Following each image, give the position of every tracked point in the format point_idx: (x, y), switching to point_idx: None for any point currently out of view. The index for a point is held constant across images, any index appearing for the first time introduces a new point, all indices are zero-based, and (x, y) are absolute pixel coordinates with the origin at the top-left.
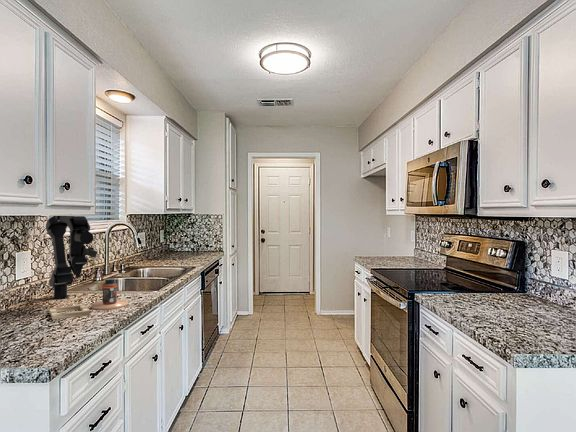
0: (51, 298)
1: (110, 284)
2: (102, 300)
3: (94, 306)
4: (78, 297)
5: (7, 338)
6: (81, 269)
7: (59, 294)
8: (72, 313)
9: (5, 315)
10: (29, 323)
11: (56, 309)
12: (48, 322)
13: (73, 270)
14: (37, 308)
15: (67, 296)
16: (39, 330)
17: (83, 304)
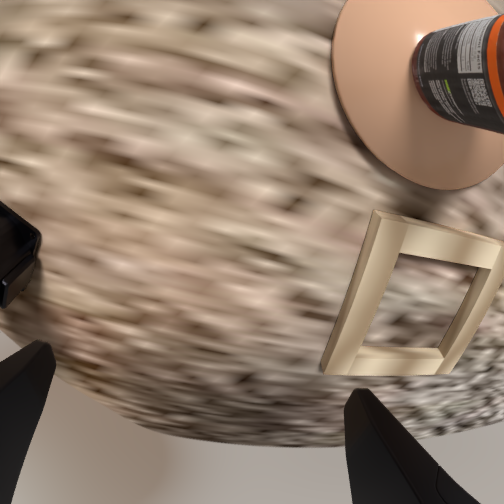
0: (25, 287)
1: None
2: (448, 118)
3: (453, 184)
4: (40, 154)
5: (470, 427)
6: (450, 483)
7: (24, 272)
8: (483, 315)
9: (242, 443)
10: (413, 409)
11: (356, 352)
12: (456, 372)
13: (29, 417)
14: (199, 377)
15: (11, 213)
16: (490, 387)
17: (386, 226)
